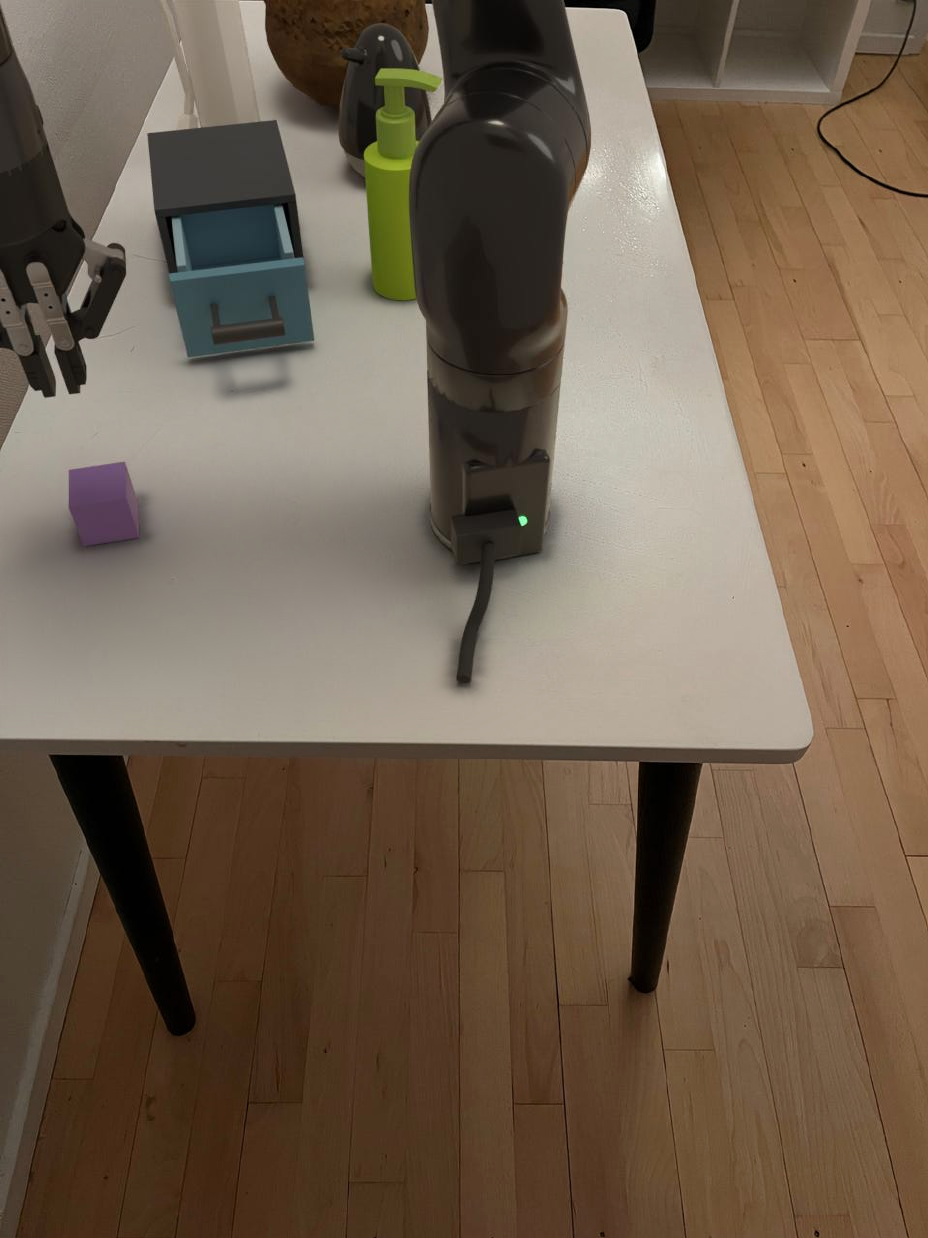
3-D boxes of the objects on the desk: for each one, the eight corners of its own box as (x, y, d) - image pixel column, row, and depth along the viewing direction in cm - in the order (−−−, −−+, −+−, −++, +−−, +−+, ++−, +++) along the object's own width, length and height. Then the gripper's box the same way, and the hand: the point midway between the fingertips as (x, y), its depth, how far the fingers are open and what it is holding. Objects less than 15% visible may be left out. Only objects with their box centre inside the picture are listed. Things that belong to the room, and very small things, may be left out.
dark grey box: (307, 286, 103) (295, 193, 96) (176, 303, 101) (154, 209, 94) (288, 209, 112) (276, 119, 105) (167, 223, 110) (147, 132, 103)
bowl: (382, 53, 137) (375, -79, 125) (458, 111, 127) (458, -27, 115) (248, 87, 130) (228, -49, 119) (317, 151, 120) (302, 9, 109)
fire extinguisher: (171, 148, 120) (116, -108, 101) (277, 137, 122) (243, -117, 103) (174, 177, 116) (118, -84, 97) (284, 165, 118) (250, -93, 99)
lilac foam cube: (139, 537, 82) (126, 498, 78) (83, 546, 81) (68, 507, 78) (137, 500, 84) (124, 461, 81) (83, 508, 84) (68, 469, 80)
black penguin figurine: (321, 172, 117) (306, 25, 105) (388, 139, 122) (381, -5, 110) (385, 205, 113) (377, 56, 101) (452, 169, 118) (452, 23, 106)
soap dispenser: (435, 305, 101) (432, 92, 86) (366, 296, 102) (349, 84, 87) (448, 271, 105) (447, 61, 90) (381, 263, 106) (368, 54, 90)
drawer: (322, 373, 93) (313, 297, 87) (191, 392, 91) (172, 315, 85) (295, 260, 105) (285, 185, 99) (178, 274, 103) (161, 199, 97)
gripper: (-163, 186, 56) (-44, 437, 69) (99, 159, 58) (166, 409, 71) (-144, 120, 61) (-36, 368, 74) (98, 98, 63) (160, 343, 76)
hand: (63, 387), depth 73 cm, fingers closed
